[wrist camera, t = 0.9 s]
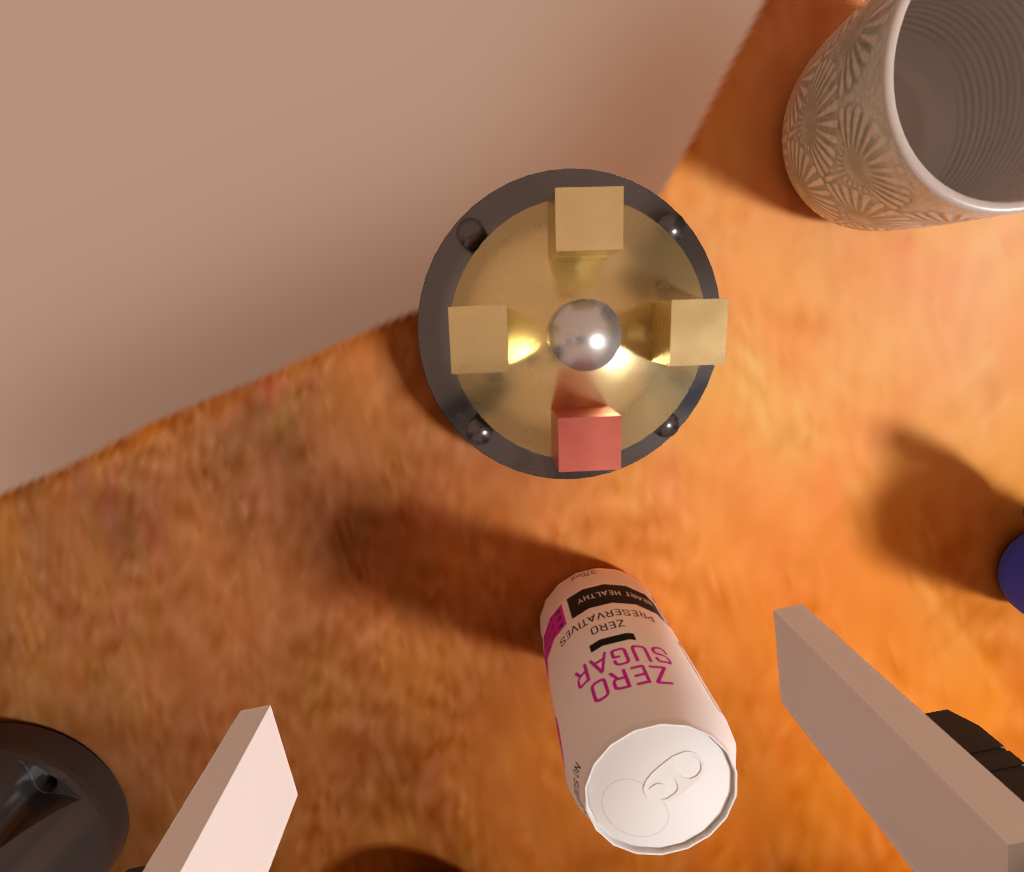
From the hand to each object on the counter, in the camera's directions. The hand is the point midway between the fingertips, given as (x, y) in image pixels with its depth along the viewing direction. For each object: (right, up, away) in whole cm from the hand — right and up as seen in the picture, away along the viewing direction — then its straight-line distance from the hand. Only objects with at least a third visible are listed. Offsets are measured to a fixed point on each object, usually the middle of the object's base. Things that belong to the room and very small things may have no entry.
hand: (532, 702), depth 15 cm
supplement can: (+5, -6, +26) cm, 27 cm away
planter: (+20, +25, +20) cm, 38 cm away
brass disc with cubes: (+3, +13, +19) cm, 23 cm away
